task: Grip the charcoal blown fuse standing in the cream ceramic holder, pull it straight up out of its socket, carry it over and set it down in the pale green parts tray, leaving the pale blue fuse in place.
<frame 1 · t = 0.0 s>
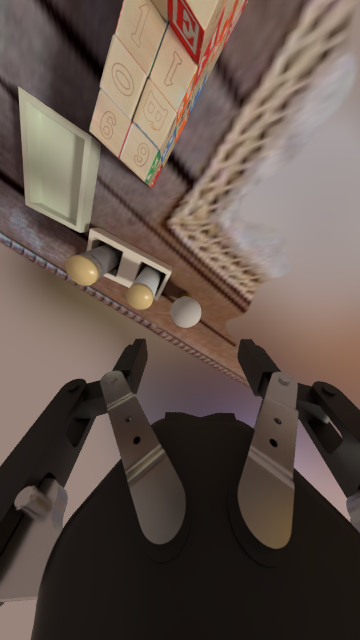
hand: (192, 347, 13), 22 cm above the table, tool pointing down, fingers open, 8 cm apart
blown fuse: (112, 254, 30), resting in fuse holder
stack of blocks: (177, 78, 18), on the table, touching arm
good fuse: (151, 274, 32), resting in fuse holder
light bulb: (185, 295, 35), on the table
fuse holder: (132, 265, 31), on the table
parts tray: (67, 178, 23), on the table
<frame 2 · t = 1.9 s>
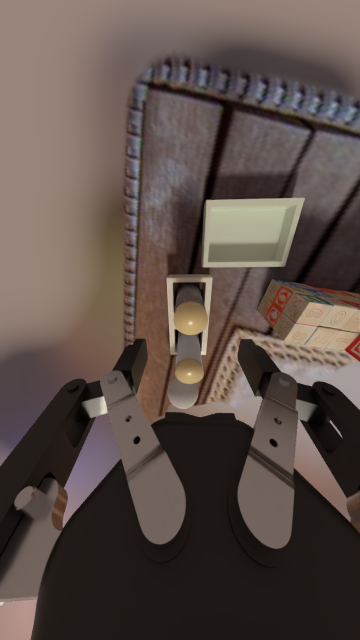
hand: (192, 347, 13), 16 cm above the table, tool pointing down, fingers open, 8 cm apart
blown fuse: (188, 292, 27), resting in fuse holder
stack of blocks: (317, 304, 27), on the table, touching arm
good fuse: (188, 332, 31), resting in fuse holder
light bulb: (183, 363, 35), on the table
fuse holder: (188, 314, 29), on the table
parts tray: (241, 236, 23), on the table
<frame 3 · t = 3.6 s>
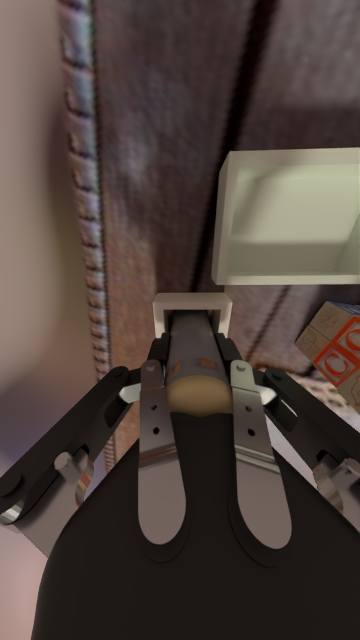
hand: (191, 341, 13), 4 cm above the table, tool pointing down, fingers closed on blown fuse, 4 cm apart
blown fuse: (190, 320, 17), resting in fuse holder, touching gripper
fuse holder: (189, 349, 19), on the table
parts tray: (283, 231, 13), on the table
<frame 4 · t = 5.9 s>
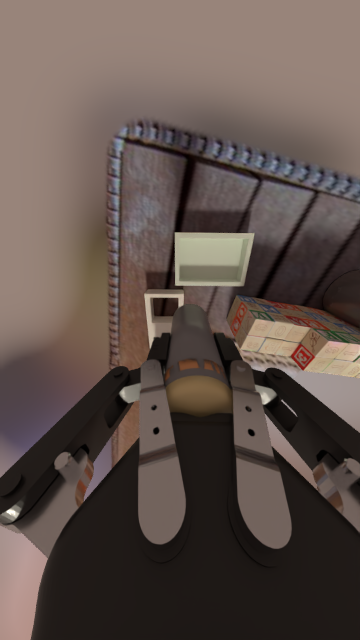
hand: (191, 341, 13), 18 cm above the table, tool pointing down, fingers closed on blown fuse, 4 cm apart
blown fuse: (189, 320, 17), point 13 cm above the table, touching gripper
stack of blocks: (277, 315, 32), on the table, touching arm
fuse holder: (166, 323, 33), on the table
parts tray: (209, 259, 27), on the table
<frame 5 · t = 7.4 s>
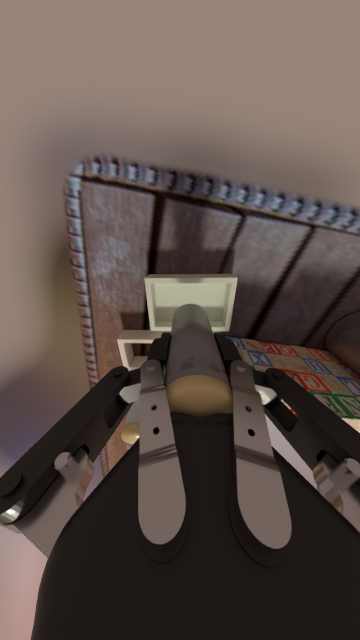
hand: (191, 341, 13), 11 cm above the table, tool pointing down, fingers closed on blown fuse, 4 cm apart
blown fuse: (190, 319, 17), point 7 cm above the table, touching gripper
stack of blocks: (272, 355, 28), on the table, touching arm
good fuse: (150, 377, 31), resting in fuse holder
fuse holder: (148, 362, 30), on the table
parts tray: (189, 300, 23), on the table
when the fingers open (6 cm above the table, at t = 8.5 s): blown fuse drops 1 cm, resting on parts tray.
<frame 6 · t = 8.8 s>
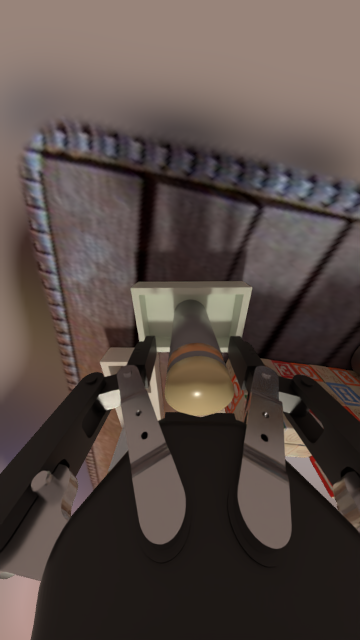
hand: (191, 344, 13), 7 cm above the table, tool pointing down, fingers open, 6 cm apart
blown fuse: (190, 314, 18), point 1 cm above the table, touching parts tray
stack of blocks: (287, 374, 24), on the table, touching arm
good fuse: (143, 399, 27), resting in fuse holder
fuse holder: (140, 383, 25), on the table
parts tray: (189, 313, 19), on the table
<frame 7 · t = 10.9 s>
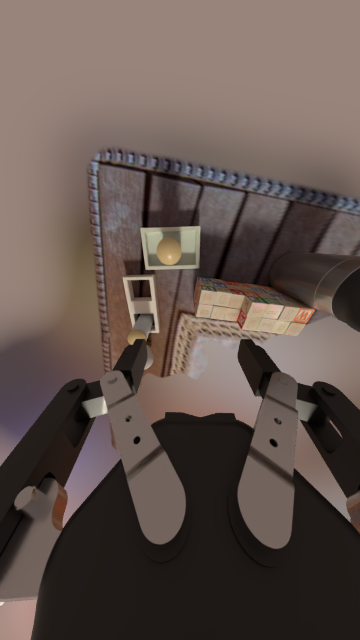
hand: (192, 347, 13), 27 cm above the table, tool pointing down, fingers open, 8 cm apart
blown fuse: (172, 248, 33), point 1 cm above the table, touching parts tray
stack of blocks: (234, 293, 39), on the table, touching arm
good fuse: (147, 317, 42), resting in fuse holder
light bulb: (147, 342, 46), on the table
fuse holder: (145, 303, 40), on the table
parts tray: (172, 248, 34), on the table
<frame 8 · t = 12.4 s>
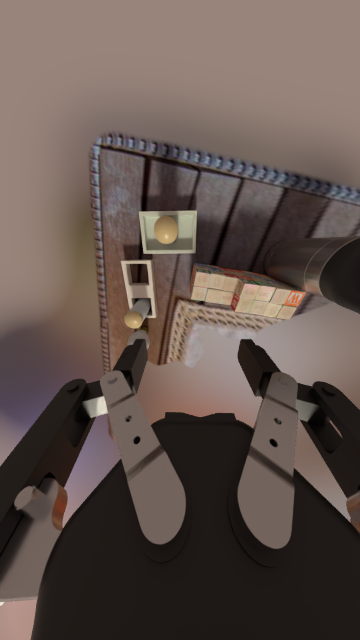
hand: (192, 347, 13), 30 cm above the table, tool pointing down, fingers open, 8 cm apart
blown fuse: (169, 233, 34), point 1 cm above the table, touching parts tray
stack of blocks: (230, 280, 40), on the table, touching arm
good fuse: (144, 303, 43), resting in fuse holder
light bulb: (145, 328, 47), on the table
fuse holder: (142, 288, 41), on the table
parts tray: (169, 234, 35), on the table
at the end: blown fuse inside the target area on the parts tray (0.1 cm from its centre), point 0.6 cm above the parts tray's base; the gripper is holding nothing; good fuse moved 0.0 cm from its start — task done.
